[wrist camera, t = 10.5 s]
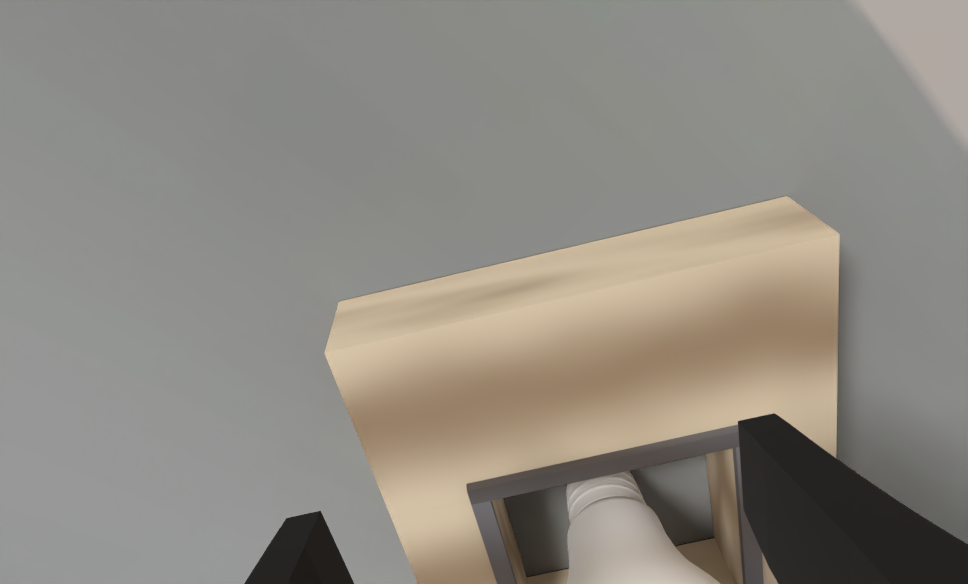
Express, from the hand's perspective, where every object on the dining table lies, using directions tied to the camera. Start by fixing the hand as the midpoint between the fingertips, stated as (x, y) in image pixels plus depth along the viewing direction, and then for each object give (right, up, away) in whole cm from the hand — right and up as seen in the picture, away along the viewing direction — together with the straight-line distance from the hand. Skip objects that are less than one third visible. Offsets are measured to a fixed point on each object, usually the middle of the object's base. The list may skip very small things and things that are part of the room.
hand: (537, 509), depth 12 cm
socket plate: (+4, -4, +14) cm, 15 cm away
